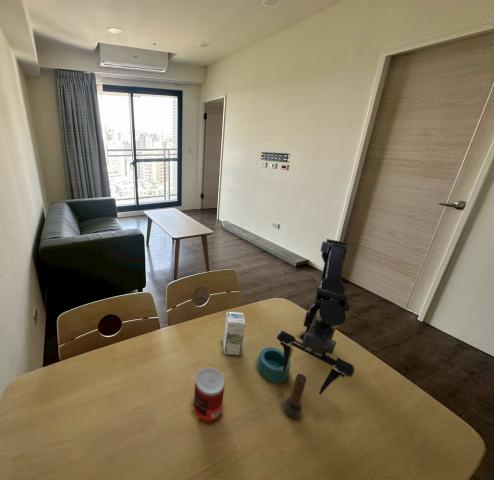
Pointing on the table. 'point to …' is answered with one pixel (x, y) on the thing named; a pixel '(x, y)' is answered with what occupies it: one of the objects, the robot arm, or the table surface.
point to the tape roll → (272, 364)
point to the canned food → (208, 394)
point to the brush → (295, 398)
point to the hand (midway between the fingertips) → (301, 382)
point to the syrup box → (233, 333)
